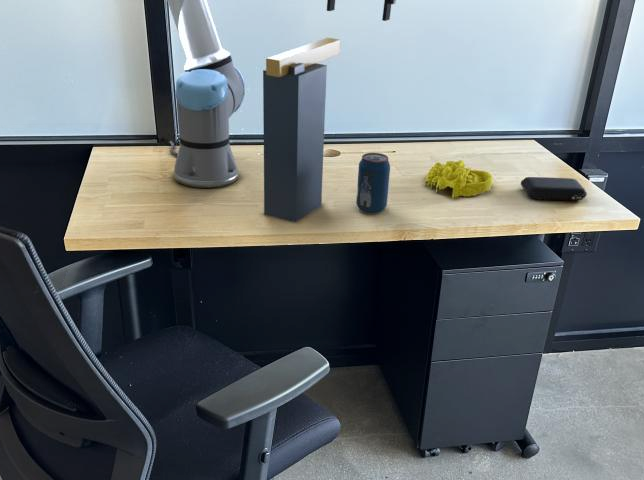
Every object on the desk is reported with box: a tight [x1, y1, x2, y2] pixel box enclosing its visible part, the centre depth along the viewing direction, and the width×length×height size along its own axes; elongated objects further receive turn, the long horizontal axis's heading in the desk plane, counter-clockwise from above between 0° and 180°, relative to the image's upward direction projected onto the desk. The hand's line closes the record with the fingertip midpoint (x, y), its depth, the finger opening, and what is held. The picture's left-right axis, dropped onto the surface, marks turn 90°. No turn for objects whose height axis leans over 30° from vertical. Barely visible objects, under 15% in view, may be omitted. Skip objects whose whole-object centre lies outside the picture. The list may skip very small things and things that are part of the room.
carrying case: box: [520, 176, 588, 201], centre depth 180 cm, size 11×3×15 cm
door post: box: [262, 63, 328, 223], centre depth 157 cm, size 12×8×32 cm, turn 154°
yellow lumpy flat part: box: [424, 159, 493, 199], centre depth 183 cm, size 16×16×4 cm
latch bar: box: [265, 37, 341, 77], centre depth 151 cm, size 26×3×3 cm, turn 154°
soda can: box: [355, 152, 391, 215], centre depth 165 cm, size 7×7×12 cm
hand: (357, 15), depth 167 cm, fingers open, 13 cm apart
